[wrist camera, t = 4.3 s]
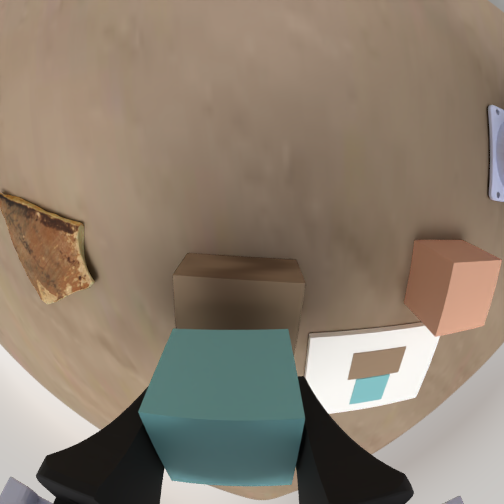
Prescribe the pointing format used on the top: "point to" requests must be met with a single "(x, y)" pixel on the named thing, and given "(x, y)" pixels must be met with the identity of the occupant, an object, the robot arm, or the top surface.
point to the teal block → (226, 407)
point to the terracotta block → (451, 285)
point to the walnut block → (238, 293)
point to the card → (368, 365)
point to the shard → (47, 248)
